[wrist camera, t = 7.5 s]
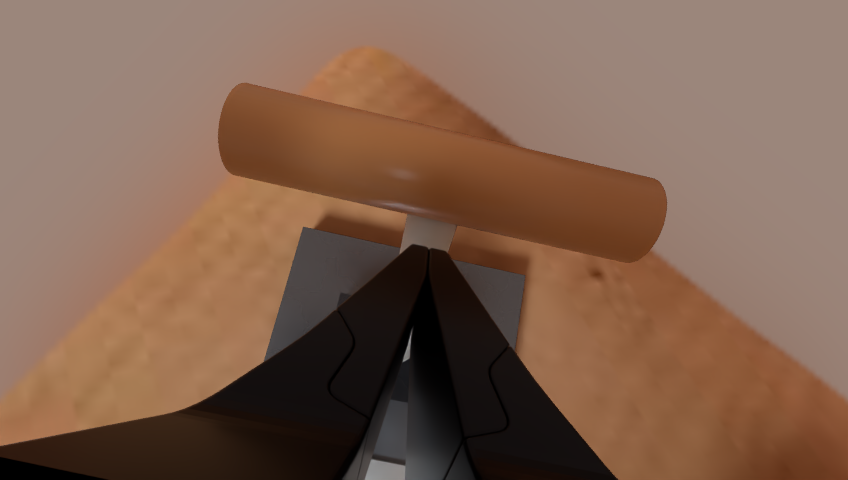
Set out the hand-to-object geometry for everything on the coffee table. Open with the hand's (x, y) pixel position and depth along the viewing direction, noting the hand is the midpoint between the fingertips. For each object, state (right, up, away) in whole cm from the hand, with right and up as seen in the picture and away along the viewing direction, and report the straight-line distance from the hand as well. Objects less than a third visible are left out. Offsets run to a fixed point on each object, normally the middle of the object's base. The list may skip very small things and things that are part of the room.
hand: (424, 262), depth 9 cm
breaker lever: (-1, -4, +7) cm, 8 cm away
